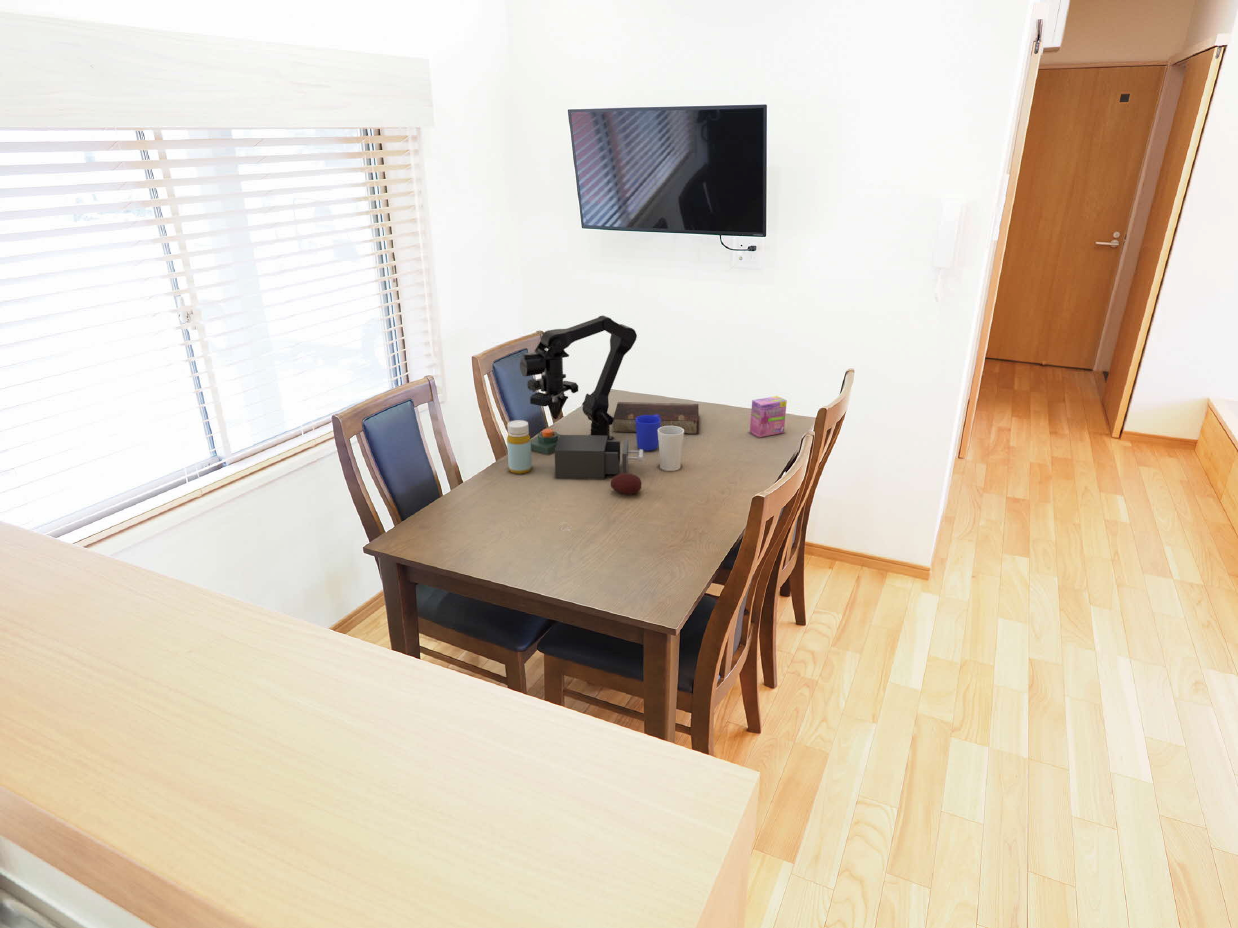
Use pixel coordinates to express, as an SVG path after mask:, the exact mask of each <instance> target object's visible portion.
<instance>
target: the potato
mask: <svg viewBox="0 0 1238 928" xmlns="http://www.w3.org/2000/svg"><path fill="white" fill-rule="evenodd" d="M642 484H643V483H642V479H641V477H639V476H638V475H636V474H633V473H629V472H627V473H622V472H621V473H618V474H615V476H613V477H612V478H611V480H610V487H611V488H612V489H613V490H614V491H615V492H617V493H619V494H623V495H636V494H637V493H639V492H640V491H641V489H642Z"/></svg>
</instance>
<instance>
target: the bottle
mask: <svg viewBox="0 0 1238 928" xmlns="http://www.w3.org/2000/svg"><path fill="white" fill-rule="evenodd" d="M506 427H507V437H506V447H507V462H508V470H509V472H511V473H512V474H517V475H522V474H527V473H529V472H530V471H531V470H532V469H533V461H532V460H533V459H532V450H531V440H532V439H531V436H530V431H529V429H530V428H529V421H527V420H523V419H517V420H515V419H514V420H511V421H509V422H507V426H506Z"/></svg>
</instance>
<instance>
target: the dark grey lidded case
mask: <svg viewBox="0 0 1238 928" xmlns="http://www.w3.org/2000/svg"><path fill="white" fill-rule="evenodd" d="M606 442H607V436H601V435H591V434H561V435H560V437H559V439H558V442H557V445H556V447H555V450H554V452H553V453H554V473H555V474H554V475H555V479H565V480H568V479H570V480H571V479H572V480H605V478H606V474H604V451H605V447H606Z"/></svg>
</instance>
